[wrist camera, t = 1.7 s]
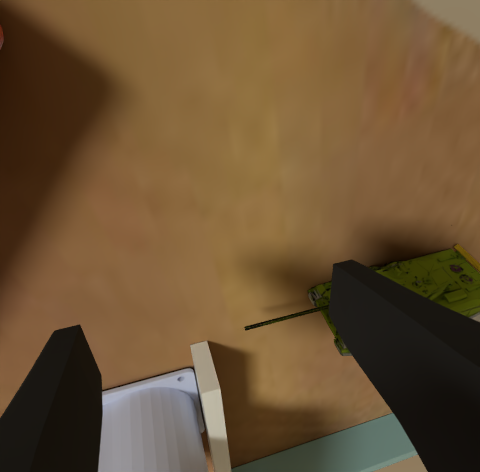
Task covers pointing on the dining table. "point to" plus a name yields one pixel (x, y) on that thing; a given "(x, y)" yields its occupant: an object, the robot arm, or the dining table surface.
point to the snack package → (1, 37)
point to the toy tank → (415, 286)
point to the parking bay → (309, 454)
